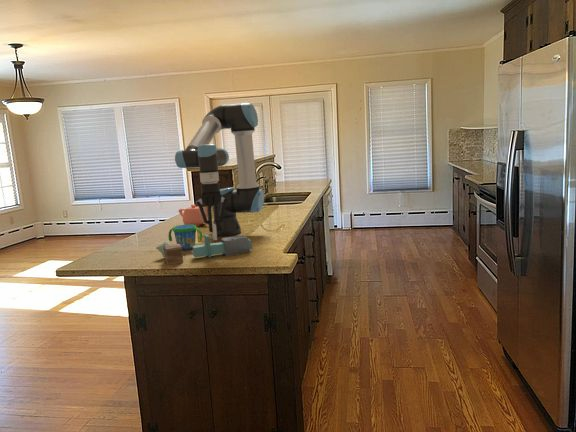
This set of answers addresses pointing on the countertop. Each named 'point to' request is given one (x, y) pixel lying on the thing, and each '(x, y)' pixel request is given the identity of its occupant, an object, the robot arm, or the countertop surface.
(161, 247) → the robot head
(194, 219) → the teapot
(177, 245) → the socket block
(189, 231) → the snack cup
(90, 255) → the countertop surface
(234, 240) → the sleeve
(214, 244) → the tube
